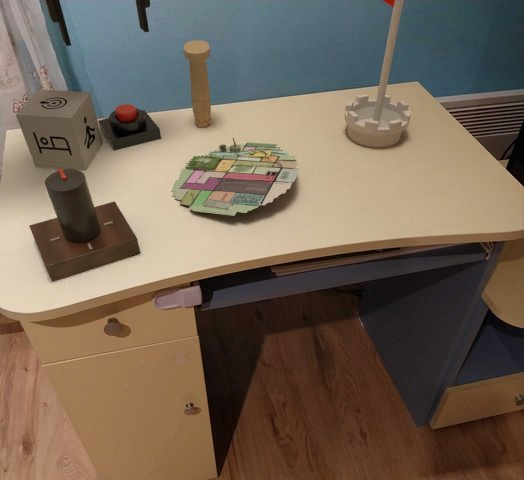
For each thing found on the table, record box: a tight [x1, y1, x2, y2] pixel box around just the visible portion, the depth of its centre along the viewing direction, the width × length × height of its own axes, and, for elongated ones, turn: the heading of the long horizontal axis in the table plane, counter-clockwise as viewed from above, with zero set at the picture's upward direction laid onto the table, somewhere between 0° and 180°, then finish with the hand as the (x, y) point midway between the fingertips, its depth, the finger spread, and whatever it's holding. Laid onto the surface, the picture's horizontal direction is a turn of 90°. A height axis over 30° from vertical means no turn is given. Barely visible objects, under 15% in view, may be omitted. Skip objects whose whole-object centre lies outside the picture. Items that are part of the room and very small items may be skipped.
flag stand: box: [344, 0, 412, 148], centre depth 92 cm, size 13×13×30 cm
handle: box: [183, 39, 212, 129], centre depth 99 cm, size 5×6×15 cm
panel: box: [28, 201, 141, 282], centre depth 78 cm, size 14×11×3 cm
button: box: [114, 103, 137, 121], centre depth 99 cm, size 4×4×2 cm
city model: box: [170, 137, 300, 217], centre depth 90 cm, size 25×23×6 cm
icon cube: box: [15, 88, 104, 171], centre depth 93 cm, size 10×10×10 cm
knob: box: [44, 168, 101, 243], centre depth 74 cm, size 6×6×9 cm
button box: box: [97, 107, 162, 151], centre depth 101 cm, size 9×10×4 cm
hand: (106, 36), depth 85 cm, fingers open, 13 cm apart
